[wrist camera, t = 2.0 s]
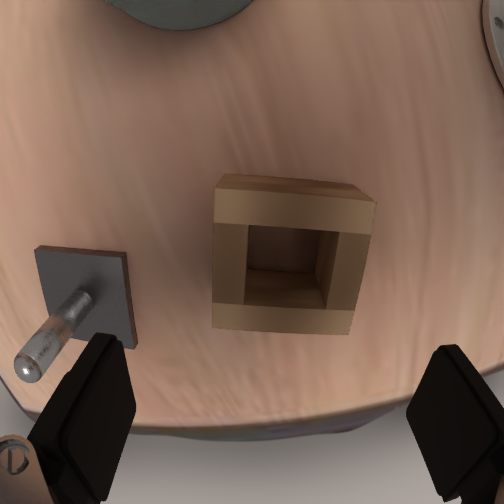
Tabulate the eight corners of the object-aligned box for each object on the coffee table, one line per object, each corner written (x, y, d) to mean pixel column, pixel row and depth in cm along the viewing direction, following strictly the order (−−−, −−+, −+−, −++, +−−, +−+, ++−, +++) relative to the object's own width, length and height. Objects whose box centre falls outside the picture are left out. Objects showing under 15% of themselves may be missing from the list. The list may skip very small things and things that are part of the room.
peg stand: (126, 252, 19) (53, 334, 11) (137, 342, 22) (93, 436, 14) (40, 245, 19) (-42, 308, 11) (59, 328, 22) (2, 402, 14)
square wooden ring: (353, 184, 17) (376, 202, 13) (334, 296, 20) (348, 334, 16) (225, 174, 17) (214, 188, 13) (221, 289, 20) (212, 327, 16)
